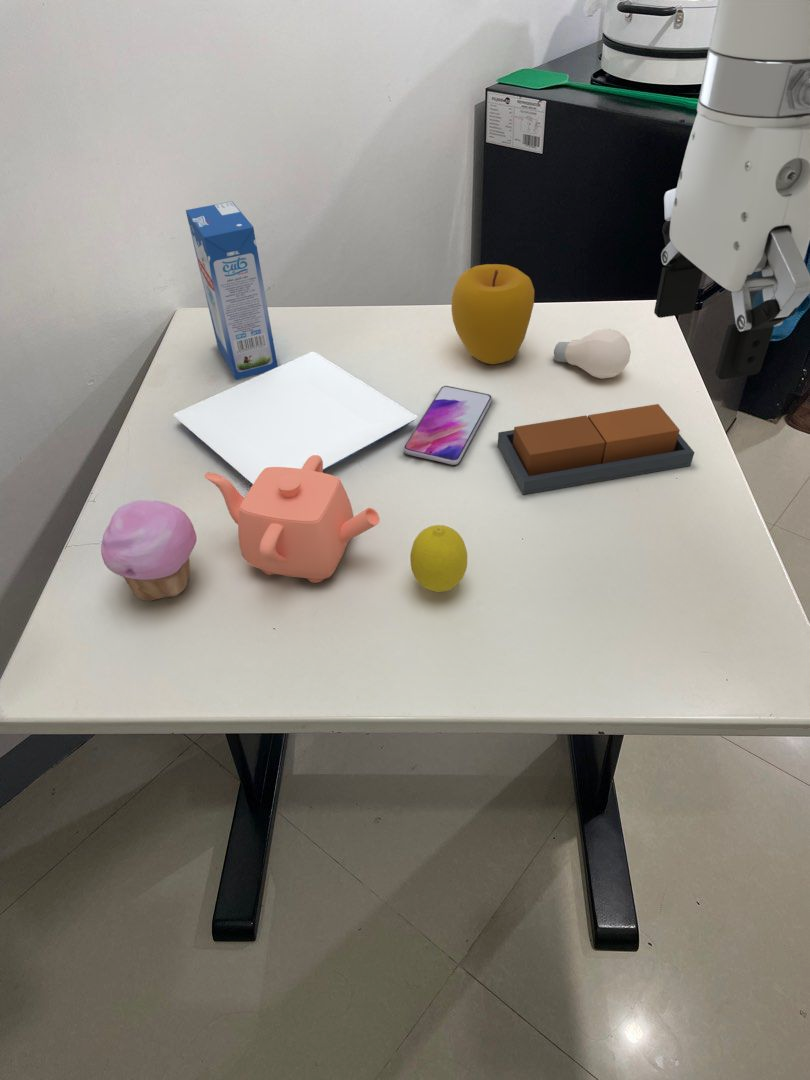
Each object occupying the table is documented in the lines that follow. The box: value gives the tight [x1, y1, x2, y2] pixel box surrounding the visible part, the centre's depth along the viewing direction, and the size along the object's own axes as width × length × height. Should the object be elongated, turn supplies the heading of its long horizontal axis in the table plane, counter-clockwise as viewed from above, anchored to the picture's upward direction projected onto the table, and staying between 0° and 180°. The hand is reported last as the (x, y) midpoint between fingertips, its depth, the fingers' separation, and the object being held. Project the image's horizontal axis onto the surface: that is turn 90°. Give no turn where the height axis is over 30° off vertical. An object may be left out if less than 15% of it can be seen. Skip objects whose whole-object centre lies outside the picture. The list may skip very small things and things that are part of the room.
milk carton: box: [185, 201, 279, 381], centre depth 100 cm, size 10×6×20 cm, turn 25°
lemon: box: [409, 524, 468, 593], centre depth 71 cm, size 6×6×8 cm
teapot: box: [203, 455, 380, 584], centre depth 74 cm, size 14×12×10 cm
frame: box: [497, 429, 695, 496], centre depth 87 cm, size 10×21×2 cm, turn 102°
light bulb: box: [553, 328, 632, 379], centre depth 100 cm, size 7×7×11 cm
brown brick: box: [513, 415, 605, 476], centre depth 86 cm, size 6×9×4 cm, turn 102°
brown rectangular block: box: [587, 403, 681, 464], centre depth 87 cm, size 6×9×4 cm, turn 102°
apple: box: [451, 263, 535, 365], centre depth 100 cm, size 11×11×13 cm
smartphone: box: [402, 385, 493, 466], centre depth 93 cm, size 7×1×15 cm
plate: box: [173, 351, 418, 485], centre depth 93 cm, size 22×22×2 cm
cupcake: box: [100, 499, 197, 602], centre depth 72 cm, size 9×9×10 cm
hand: (703, 342), depth 56 cm, fingers open, 9 cm apart
